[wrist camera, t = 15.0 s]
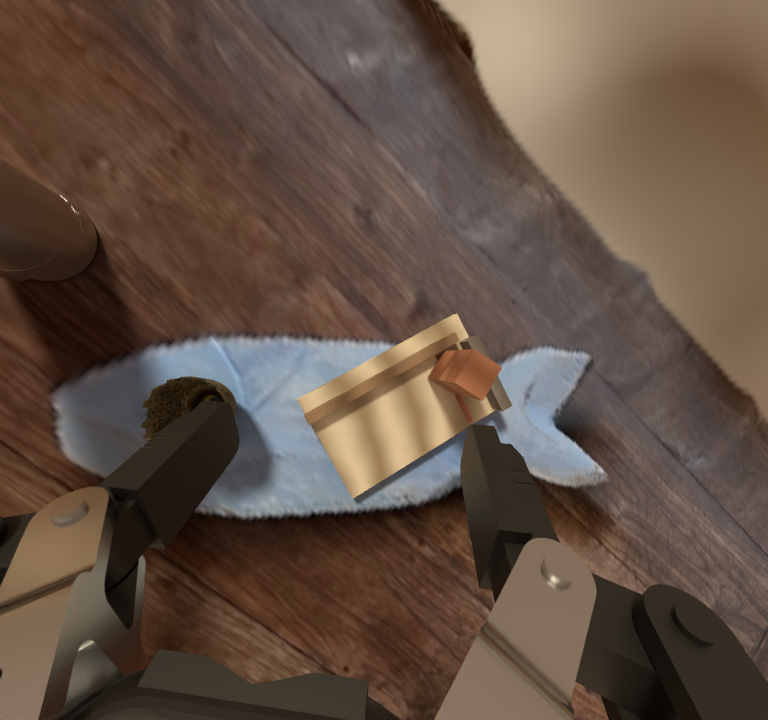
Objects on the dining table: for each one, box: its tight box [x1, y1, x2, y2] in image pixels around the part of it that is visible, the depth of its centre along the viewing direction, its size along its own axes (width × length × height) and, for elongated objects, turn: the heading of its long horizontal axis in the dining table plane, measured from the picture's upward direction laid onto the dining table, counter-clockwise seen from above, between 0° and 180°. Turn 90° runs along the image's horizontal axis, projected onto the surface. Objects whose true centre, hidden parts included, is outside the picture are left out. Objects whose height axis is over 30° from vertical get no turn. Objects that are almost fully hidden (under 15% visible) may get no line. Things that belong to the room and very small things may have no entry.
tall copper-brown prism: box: [428, 349, 502, 401], centre depth 35 cm, size 5×4×8 cm
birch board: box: [298, 314, 512, 498], centre depth 38 cm, size 23×14×4 cm, turn 118°
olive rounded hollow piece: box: [141, 376, 236, 441], centre depth 32 cm, size 8×7×8 cm
